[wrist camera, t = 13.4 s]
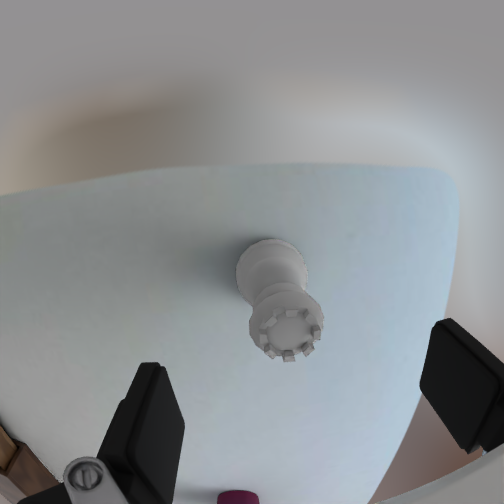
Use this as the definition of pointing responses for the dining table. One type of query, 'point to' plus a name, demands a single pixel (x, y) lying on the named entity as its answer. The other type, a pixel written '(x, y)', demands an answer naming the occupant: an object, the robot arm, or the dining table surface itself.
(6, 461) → the drawer
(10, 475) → the cabinet
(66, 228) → the dining table surface
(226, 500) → the cup
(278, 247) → the rook chess piece
